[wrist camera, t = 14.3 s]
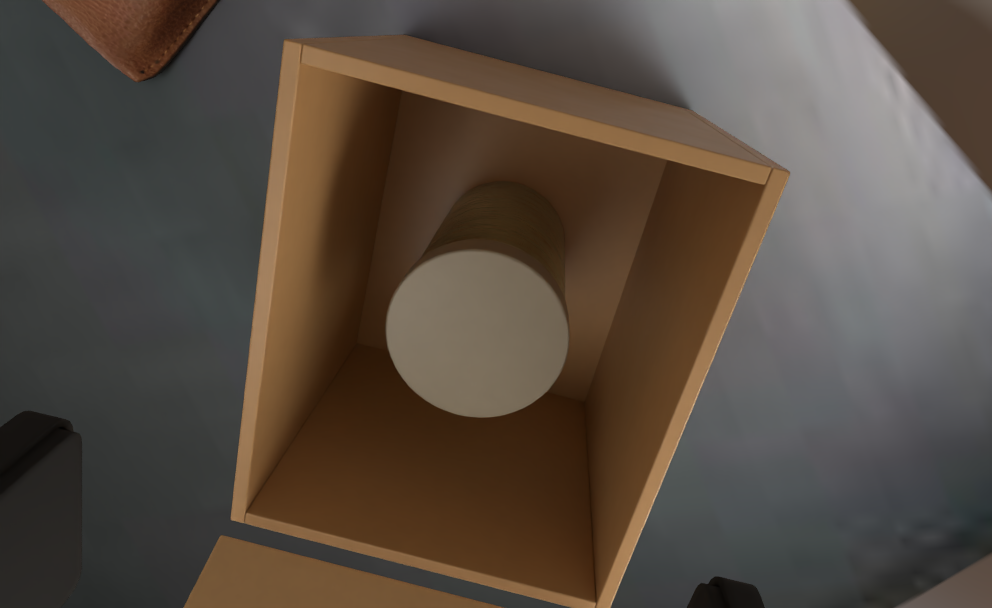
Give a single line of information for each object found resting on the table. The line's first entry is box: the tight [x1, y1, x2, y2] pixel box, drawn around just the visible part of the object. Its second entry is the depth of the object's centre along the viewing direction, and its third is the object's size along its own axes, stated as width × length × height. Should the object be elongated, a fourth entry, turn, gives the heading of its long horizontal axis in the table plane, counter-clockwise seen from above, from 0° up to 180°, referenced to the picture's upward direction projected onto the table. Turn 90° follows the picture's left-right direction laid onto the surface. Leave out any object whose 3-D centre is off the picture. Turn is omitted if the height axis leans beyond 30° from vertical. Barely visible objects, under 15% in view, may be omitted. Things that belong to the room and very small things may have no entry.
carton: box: [231, 35, 790, 608], centre depth 22 cm, size 13×11×11 cm
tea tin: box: [385, 181, 570, 418], centre depth 22 cm, size 5×5×9 cm
